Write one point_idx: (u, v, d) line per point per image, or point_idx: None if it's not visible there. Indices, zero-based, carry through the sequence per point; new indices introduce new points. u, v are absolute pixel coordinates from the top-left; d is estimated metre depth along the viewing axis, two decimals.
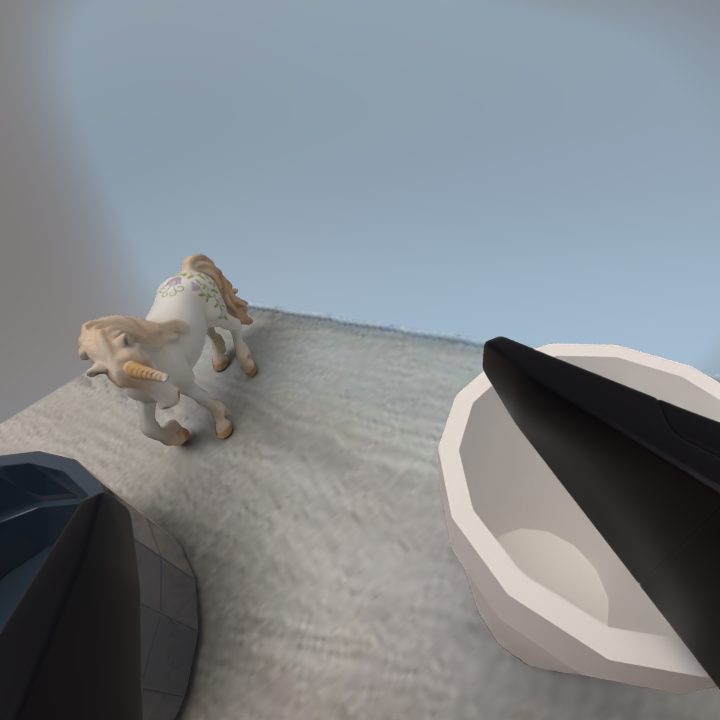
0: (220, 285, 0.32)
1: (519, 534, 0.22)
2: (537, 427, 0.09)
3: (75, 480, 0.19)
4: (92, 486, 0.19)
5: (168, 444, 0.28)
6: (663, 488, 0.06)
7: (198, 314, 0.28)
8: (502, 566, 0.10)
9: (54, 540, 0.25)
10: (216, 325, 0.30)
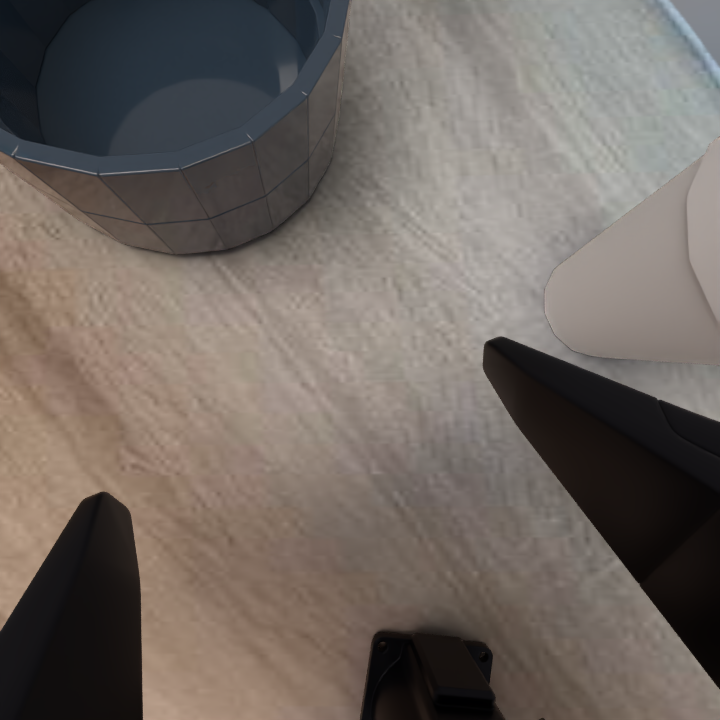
0: None
1: None
2: (537, 427, 0.09)
3: None
4: None
5: None
6: (663, 487, 0.06)
7: None
8: None
9: None
10: None
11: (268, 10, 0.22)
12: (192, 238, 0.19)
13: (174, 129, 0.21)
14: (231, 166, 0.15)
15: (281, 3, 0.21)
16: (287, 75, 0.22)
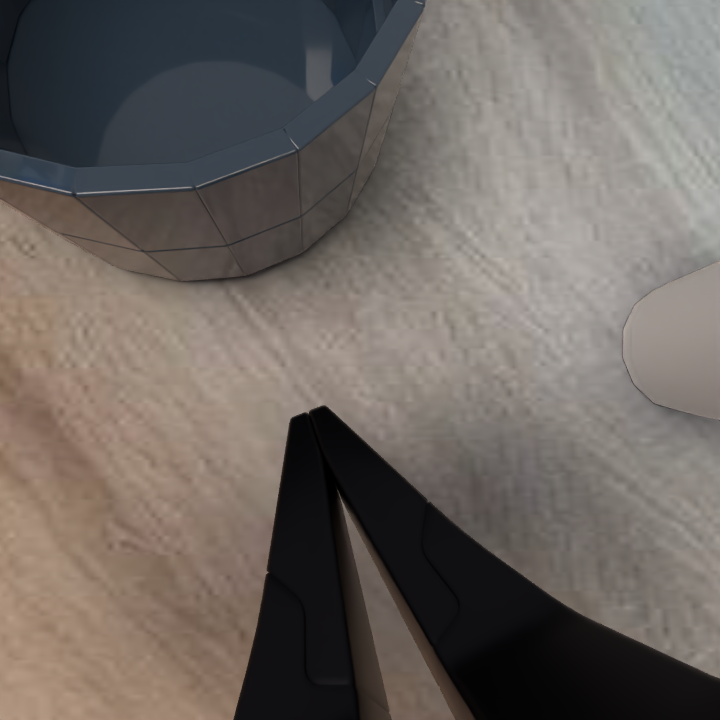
0: None
1: None
2: (348, 509, 0.08)
3: None
4: None
5: None
6: (407, 611, 0.06)
7: None
8: None
9: None
10: None
11: None
12: (203, 265, 0.15)
13: (182, 123, 0.17)
14: (264, 183, 0.10)
15: None
16: (323, 58, 0.18)
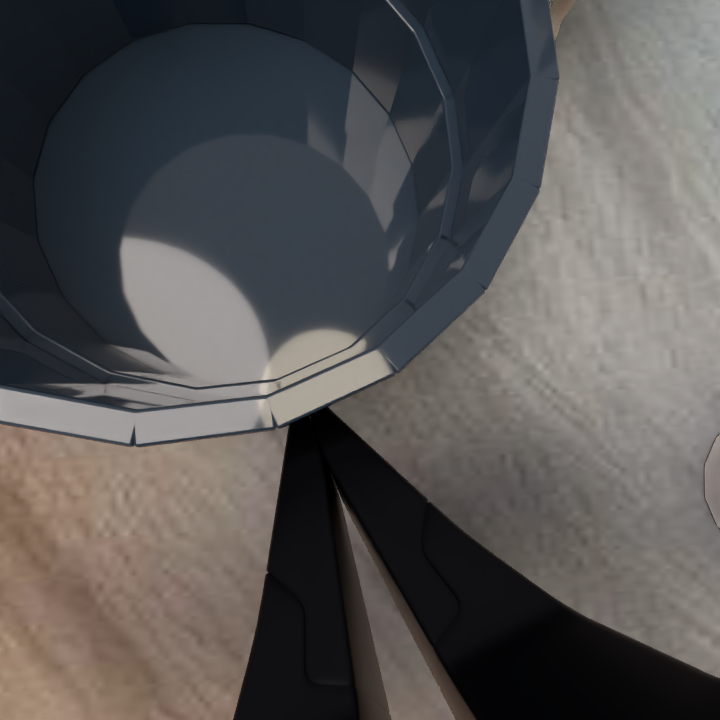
0: None
1: None
2: (348, 509, 0.08)
3: None
4: None
5: None
6: (408, 610, 0.06)
7: None
8: None
9: (267, 21, 0.16)
10: None
11: (352, 71, 0.17)
12: None
13: (223, 238, 0.15)
14: None
15: (377, 69, 0.15)
16: (376, 162, 0.16)
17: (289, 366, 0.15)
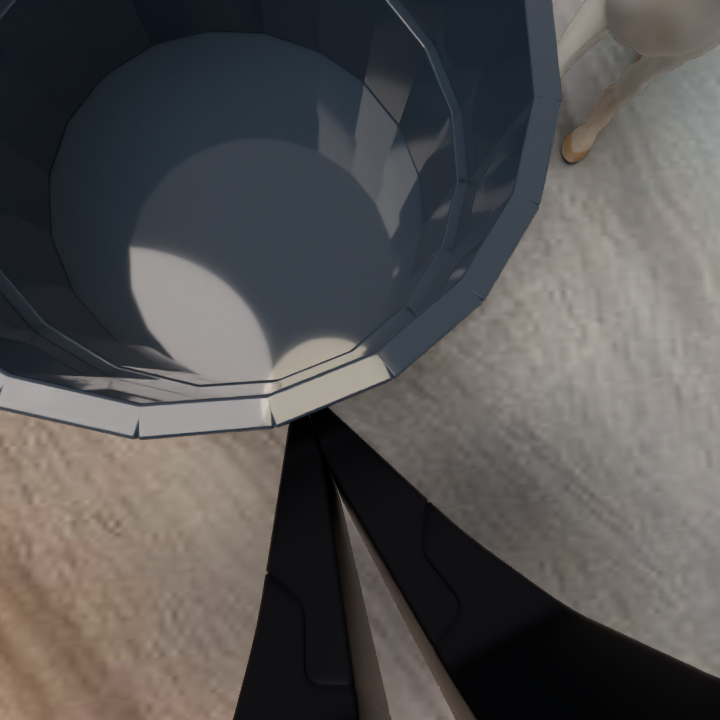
0: None
1: None
2: (348, 509, 0.08)
3: None
4: None
5: None
6: (408, 611, 0.06)
7: None
8: None
9: (283, 31, 0.16)
10: None
11: (364, 83, 0.17)
12: None
13: (232, 239, 0.16)
14: None
15: (388, 82, 0.16)
16: (384, 172, 0.17)
17: (290, 368, 0.16)
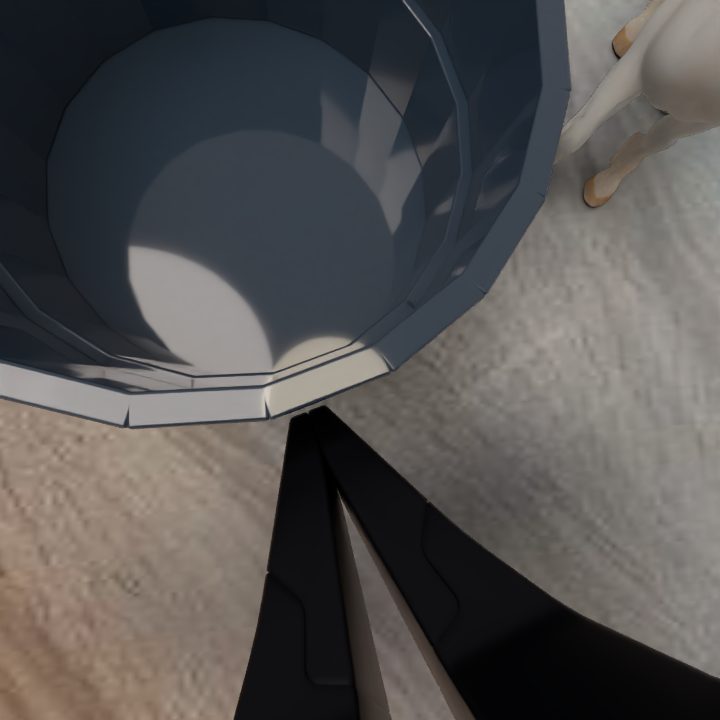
0: None
1: None
2: (348, 509, 0.08)
3: None
4: None
5: None
6: (408, 610, 0.06)
7: None
8: None
9: (287, 18, 0.16)
10: None
11: (369, 73, 0.17)
12: None
13: (231, 230, 0.16)
14: None
15: (393, 72, 0.15)
16: (387, 164, 0.17)
17: (288, 361, 0.16)
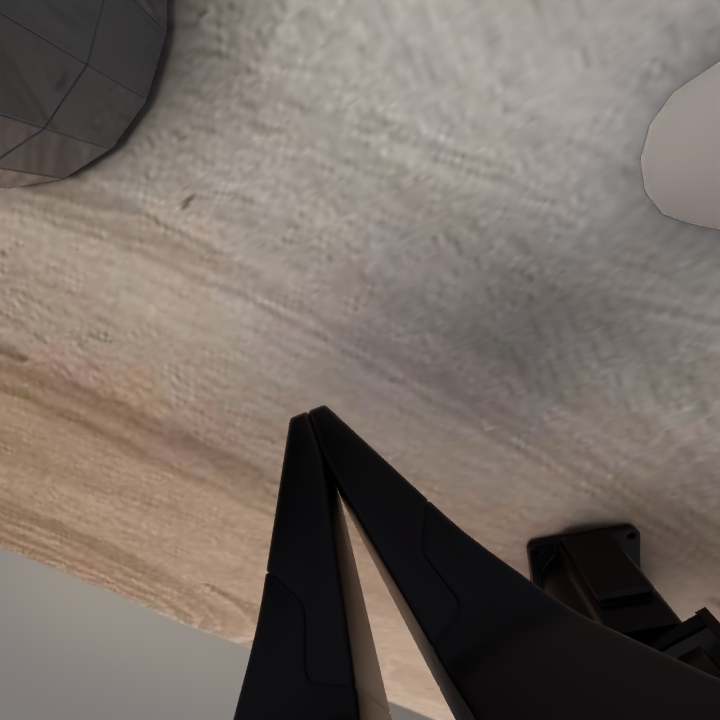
0: None
1: None
2: (348, 509, 0.08)
3: None
4: None
5: None
6: (408, 610, 0.06)
7: None
8: None
9: None
10: None
11: None
12: (56, 156, 0.16)
13: None
14: None
15: None
16: None
17: None
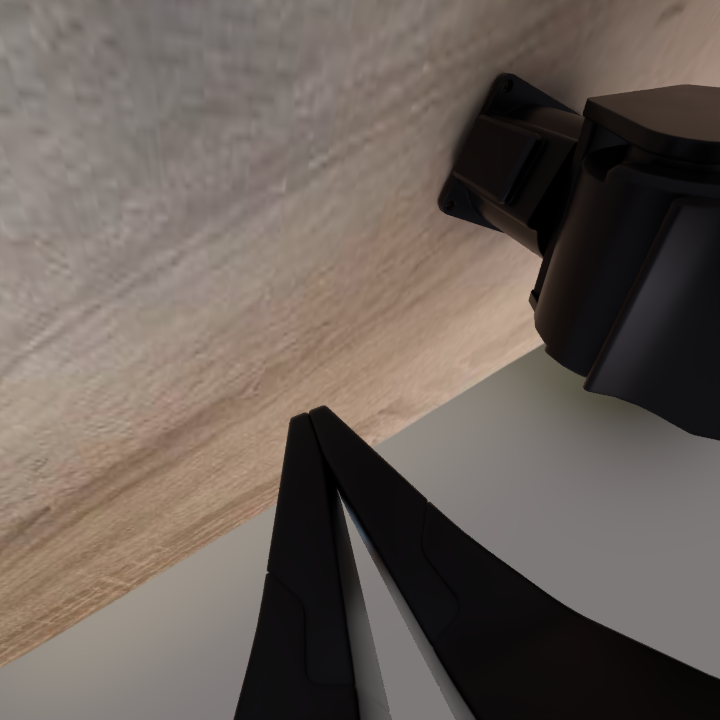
0: None
1: None
2: (348, 509, 0.08)
3: None
4: None
5: None
6: (408, 610, 0.06)
7: None
8: None
9: None
10: None
11: None
12: None
13: None
14: None
15: None
16: None
17: None
